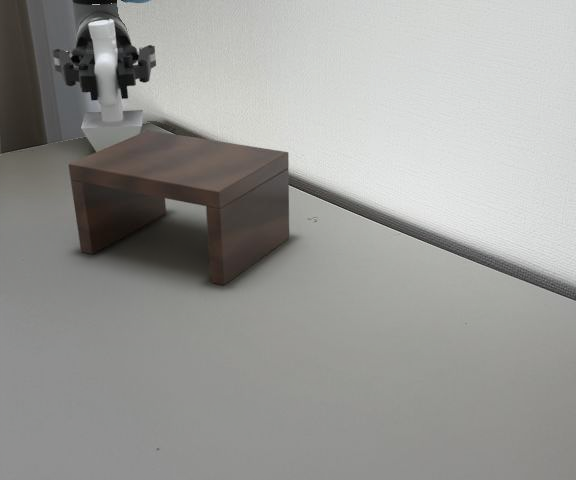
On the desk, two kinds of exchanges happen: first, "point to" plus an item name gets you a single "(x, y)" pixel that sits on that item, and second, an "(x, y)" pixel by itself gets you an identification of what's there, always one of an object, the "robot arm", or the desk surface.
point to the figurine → (108, 93)
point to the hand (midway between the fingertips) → (108, 87)
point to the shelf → (185, 194)
